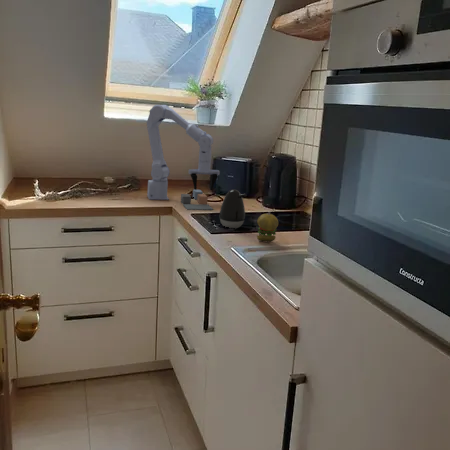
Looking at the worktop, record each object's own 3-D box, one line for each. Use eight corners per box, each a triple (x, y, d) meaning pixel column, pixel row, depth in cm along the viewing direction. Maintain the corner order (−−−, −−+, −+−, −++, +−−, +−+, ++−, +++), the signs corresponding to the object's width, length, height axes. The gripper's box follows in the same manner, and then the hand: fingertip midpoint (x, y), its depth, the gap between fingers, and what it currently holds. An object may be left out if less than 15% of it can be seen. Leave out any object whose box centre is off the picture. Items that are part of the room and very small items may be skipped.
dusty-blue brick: (195, 199, 238) (195, 192, 237) (192, 197, 243) (193, 189, 242) (202, 200, 239) (202, 192, 238) (199, 197, 244) (200, 189, 243)
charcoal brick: (183, 204, 226) (183, 196, 225) (180, 202, 231) (181, 193, 230) (190, 205, 227) (191, 196, 225) (188, 202, 232) (188, 193, 231)
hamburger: (274, 240, 180) (277, 208, 177) (278, 246, 173) (281, 213, 170) (253, 239, 179) (256, 207, 176) (257, 245, 172) (260, 212, 169)
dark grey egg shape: (236, 232, 187) (239, 193, 183) (213, 226, 192) (216, 189, 188) (249, 227, 195) (252, 190, 191) (227, 222, 201) (230, 186, 197)
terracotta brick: (199, 205, 228) (200, 196, 227) (197, 202, 233) (197, 194, 232) (207, 205, 229) (207, 196, 228) (204, 202, 234) (204, 194, 233)
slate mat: (186, 210, 216) (186, 208, 216) (183, 205, 224) (183, 204, 224) (212, 210, 219) (213, 208, 219) (208, 205, 227) (208, 204, 227)
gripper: (191, 161, 220) (189, 190, 223) (222, 162, 224) (220, 191, 227) (188, 159, 227) (186, 187, 230) (218, 160, 230) (216, 188, 234)
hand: (203, 189), depth 229 cm, fingers open, 7 cm apart
